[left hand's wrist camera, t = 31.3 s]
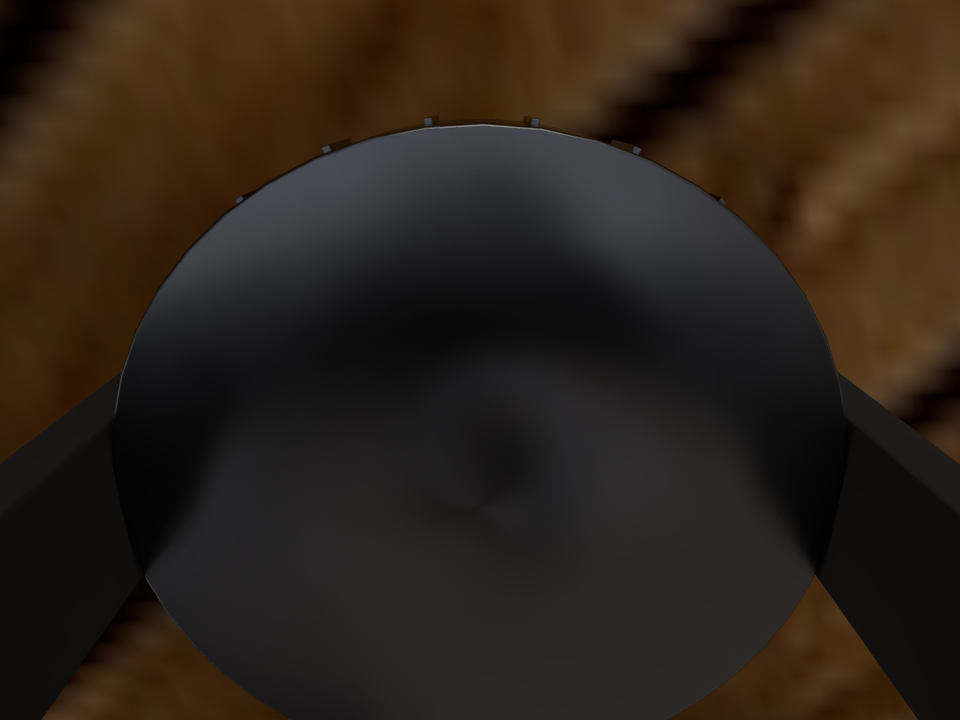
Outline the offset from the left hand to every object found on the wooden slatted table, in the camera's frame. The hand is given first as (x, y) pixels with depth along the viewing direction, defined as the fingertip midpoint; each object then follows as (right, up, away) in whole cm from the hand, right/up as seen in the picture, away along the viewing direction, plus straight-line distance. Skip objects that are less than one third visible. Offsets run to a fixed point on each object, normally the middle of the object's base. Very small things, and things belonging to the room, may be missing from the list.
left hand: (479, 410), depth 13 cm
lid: (0, -1, -3) cm, 3 cm away
